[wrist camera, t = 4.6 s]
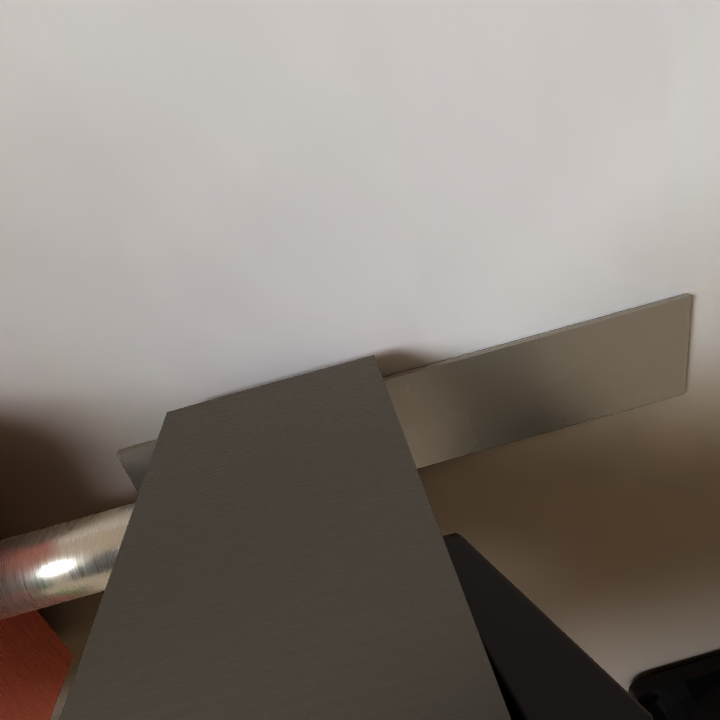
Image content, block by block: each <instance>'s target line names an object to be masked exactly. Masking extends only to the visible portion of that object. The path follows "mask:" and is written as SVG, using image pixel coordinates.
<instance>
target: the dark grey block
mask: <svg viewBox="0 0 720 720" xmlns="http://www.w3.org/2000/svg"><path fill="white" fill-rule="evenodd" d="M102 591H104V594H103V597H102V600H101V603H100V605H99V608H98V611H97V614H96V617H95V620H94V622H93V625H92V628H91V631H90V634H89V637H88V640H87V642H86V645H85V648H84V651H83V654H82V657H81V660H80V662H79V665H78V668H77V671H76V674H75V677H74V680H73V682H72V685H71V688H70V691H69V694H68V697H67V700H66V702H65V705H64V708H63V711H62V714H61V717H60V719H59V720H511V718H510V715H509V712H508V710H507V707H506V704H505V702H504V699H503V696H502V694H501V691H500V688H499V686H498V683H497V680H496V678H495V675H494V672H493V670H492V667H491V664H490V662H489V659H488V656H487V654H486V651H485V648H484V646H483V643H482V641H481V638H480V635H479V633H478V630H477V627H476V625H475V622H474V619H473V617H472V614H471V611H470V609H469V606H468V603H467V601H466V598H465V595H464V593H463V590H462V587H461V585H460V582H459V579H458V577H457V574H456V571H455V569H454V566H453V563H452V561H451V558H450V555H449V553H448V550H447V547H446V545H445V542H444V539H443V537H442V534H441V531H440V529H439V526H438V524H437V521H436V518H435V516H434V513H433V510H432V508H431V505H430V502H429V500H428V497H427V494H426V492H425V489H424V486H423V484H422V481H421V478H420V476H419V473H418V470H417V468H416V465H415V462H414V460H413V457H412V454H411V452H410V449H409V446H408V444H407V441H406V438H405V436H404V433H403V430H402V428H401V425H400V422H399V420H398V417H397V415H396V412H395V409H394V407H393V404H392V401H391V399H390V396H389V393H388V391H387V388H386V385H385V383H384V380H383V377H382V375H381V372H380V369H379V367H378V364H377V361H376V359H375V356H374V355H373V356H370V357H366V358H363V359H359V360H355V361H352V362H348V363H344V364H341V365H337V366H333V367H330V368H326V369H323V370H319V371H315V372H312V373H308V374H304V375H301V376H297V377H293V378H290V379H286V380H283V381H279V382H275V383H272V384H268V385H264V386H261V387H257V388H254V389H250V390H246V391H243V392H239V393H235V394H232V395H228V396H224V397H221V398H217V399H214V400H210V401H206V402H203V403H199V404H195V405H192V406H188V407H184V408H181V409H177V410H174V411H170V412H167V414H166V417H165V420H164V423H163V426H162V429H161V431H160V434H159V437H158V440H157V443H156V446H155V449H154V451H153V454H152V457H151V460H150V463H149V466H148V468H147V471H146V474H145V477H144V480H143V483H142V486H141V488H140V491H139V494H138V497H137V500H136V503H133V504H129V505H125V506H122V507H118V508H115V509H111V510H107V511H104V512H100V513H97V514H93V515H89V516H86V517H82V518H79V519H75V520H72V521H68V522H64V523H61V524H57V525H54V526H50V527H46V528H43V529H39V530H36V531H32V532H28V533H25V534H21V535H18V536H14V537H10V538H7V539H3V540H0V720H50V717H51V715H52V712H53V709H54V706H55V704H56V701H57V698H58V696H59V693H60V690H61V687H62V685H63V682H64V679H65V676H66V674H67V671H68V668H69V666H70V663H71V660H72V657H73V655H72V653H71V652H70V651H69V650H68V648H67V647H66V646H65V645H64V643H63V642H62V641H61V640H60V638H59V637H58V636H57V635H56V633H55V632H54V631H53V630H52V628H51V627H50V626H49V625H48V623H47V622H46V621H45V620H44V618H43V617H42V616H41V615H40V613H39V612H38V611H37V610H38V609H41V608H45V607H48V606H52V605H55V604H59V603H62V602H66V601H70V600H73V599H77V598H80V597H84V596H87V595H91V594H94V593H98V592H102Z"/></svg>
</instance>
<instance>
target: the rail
mask: <svg viewBox="0 0 720 720" xmlns="http://www.w3.org/2000/svg"><path fill="white" fill-rule="evenodd" d="M691 301H692V296H691V295H689V294H683V295H679V296H676V297H672V298H668V299H665V300H661V301H658V302H654V303H650V304H647V305H643V306H639V307H636V308H632V309H629V310H625V311H621V312H618V313H614V314H610V315H607V316H603V317H600V318H596V319H592V320H589V321H585V322H582V323H578V324H574V325H571V326H567V327H563V328H560V329H556V330H553V331H549V332H545V333H542V334H538V335H534V336H531V337H527V338H524V339H520V340H516V341H513V342H509V343H505V344H502V345H498V346H495V347H491V348H487V349H484V350H480V351H477V352H473V353H469V354H466V355H462V356H458V357H455V358H451V359H448V360H444V361H440V362H437V363H433V364H429V365H426V366H422V367H419V368H415V369H411V370H408V371H404V372H400V373H397V374H393V375H390V376H386V377H383V380H384V383H385V385H386V388H387V391H388V393H389V396H390V399H391V401H392V404H393V407H394V409H395V412H396V415H397V417H398V420H399V422H400V425H401V428H402V430H403V433H404V436H405V438H406V441H407V444H408V446H409V449H410V452H411V454H412V457H413V460H414V462H415V465H416V468H417V469H418V468H421V467H425V466H429V465H432V464H436V463H439V462H443V461H446V460H450V459H454V458H457V457H461V456H464V455H468V454H471V453H475V452H479V451H482V450H486V449H489V448H493V447H496V446H500V445H504V444H507V443H511V442H514V441H518V440H521V439H525V438H529V437H532V436H536V435H539V434H543V433H546V432H550V431H554V430H557V429H561V428H564V427H568V426H571V425H575V424H579V423H582V422H586V421H589V420H593V419H596V418H600V417H604V416H607V415H611V414H614V413H618V412H621V411H625V410H629V409H632V408H636V407H639V406H643V405H646V404H650V403H654V402H657V401H661V400H664V399H668V398H671V397H675V396H679V395H682V394H685V385H686V371H687V357H688V343H689V329H690V315H691ZM156 443H157V440H154V441H151V442H147V443H143V444H140V445H136V446H133V447H129V448H125V449H122V450H119V451H118V453H117V456H118V458H119V460H120V462H121V463H122V465H123V467H124V469H125V470H126V472H127V474H128V476H129V477H130V479H131V481H132V483H133V484H134V486H135V488H136V490H137V491H138V493H139V491H140V488H141V486H142V483H143V480H144V477H145V474H146V471H147V468H148V466H149V463H150V460H151V457H152V454H153V451H154V449H155V446H156Z"/></svg>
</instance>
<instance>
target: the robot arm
mask: <svg viewBox="0 0 720 720" xmlns="http://www.w3.org/2000/svg"><path fill="white" fill-rule="evenodd" d="M442 537H443V539H444V542H445V545H446V547H447V550H448V553H449V555H450V558H451V561H452V563H453V566H454V569H455V571H456V574H457V577H458V579H459V582H460V585H461V587H462V590H463V593H464V595H465V598H466V601H467V603H468V606H469V609H470V611H471V614H472V617H473V619H474V622H475V625H476V627H477V630H478V633H479V635H480V638H481V641H482V643H483V646H484V648H485V651H486V654H487V656H488V659H489V662H490V664H491V667H492V670H493V672H494V675H495V678H496V680H497V683H498V686H499V688H500V691H501V694H502V696H503V699H504V702H505V704H506V707H507V710H508V712H509V715H510V718H511V720H720V655H719V656H716V657H712V658H709V659H705V660H702V661H698V662H695V663H692V664H688V665H685V666H681V667H678V668H674V669H671V670H667V671H664V672H661V673H657V674H654V675H650V676H647V677H643V678H641V679H639V680H637V681H635V682H634V683H633V684H632V685H631V686H630V687H629V691H628V692H627V691H626V690H625V689H624V688H623V687H621V686H620V685H619V684H618V683H617V682H616V681H615V680H614V679H613V678H612V677H611V676H610V675H609V674H608V673H607V672H606V671H604V670H603V669H602V668H601V667H600V666H599V665H598V664H597V663H596V662H595V661H594V660H593V659H592V658H591V657H590V656H589V655H587V654H586V653H585V652H584V651H583V650H582V649H581V648H580V647H579V646H578V645H577V644H576V643H575V642H574V641H573V640H572V639H570V638H569V637H568V636H567V635H566V634H565V633H564V632H563V631H562V630H561V629H560V628H559V627H558V626H557V625H556V624H555V623H553V622H552V621H551V620H550V619H549V618H548V617H547V616H546V615H545V614H544V613H543V612H542V611H541V610H540V609H539V608H538V607H536V606H535V605H534V604H533V603H532V602H531V601H530V600H529V599H528V598H527V597H526V596H525V595H524V594H523V593H522V592H520V591H519V590H518V589H517V588H516V587H515V586H514V585H513V584H512V583H511V582H510V581H509V580H508V579H507V578H506V577H505V576H503V575H502V574H501V573H500V572H499V571H498V570H497V569H496V568H495V567H494V566H493V565H492V564H491V563H490V562H489V561H488V560H486V559H485V558H484V557H483V556H482V555H481V554H480V553H479V552H478V551H477V550H476V549H475V548H474V547H473V546H472V545H471V544H469V543H468V542H467V541H466V540H465V539H464V538H463V537H462V536H461V535H459V534H457V533H453V534H449V535H445V536H442Z"/></svg>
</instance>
